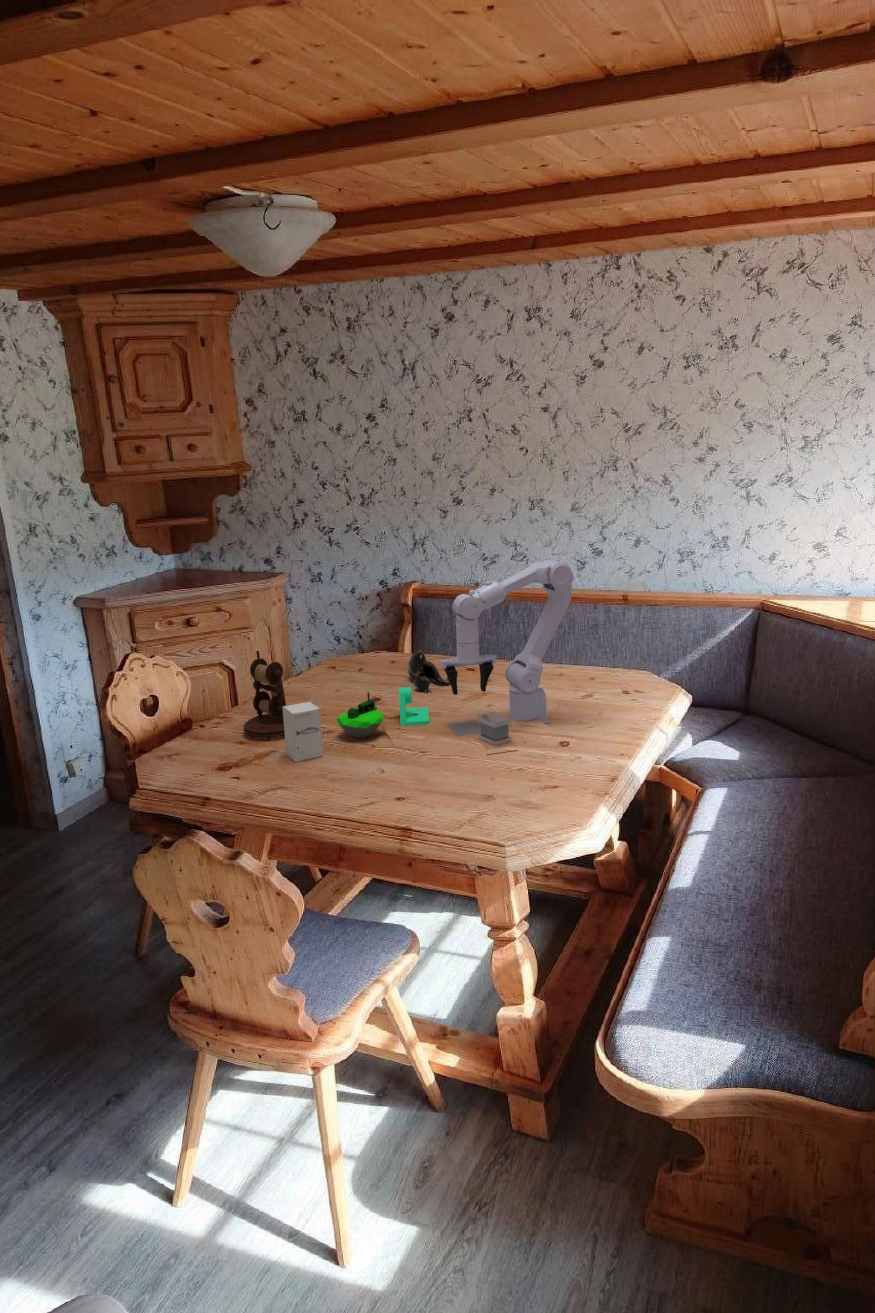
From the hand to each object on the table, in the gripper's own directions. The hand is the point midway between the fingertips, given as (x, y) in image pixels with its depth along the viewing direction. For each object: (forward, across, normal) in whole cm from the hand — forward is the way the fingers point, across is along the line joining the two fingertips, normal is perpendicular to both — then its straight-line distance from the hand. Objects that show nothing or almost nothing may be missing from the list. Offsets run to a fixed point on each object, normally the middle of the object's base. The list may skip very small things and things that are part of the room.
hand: (469, 692), depth 240 cm
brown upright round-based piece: (+11, +50, -19) cm, 54 cm away
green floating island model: (+11, +28, -7) cm, 31 cm away
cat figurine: (+11, -2, -45) cm, 47 cm away
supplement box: (+11, +44, +2) cm, 45 cm away
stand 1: (+10, +2, +2) cm, 11 cm away
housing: (+9, -2, +14) cm, 16 cm away
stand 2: (+10, -2, +14) cm, 18 cm away
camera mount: (+11, +12, -11) cm, 20 cm away
